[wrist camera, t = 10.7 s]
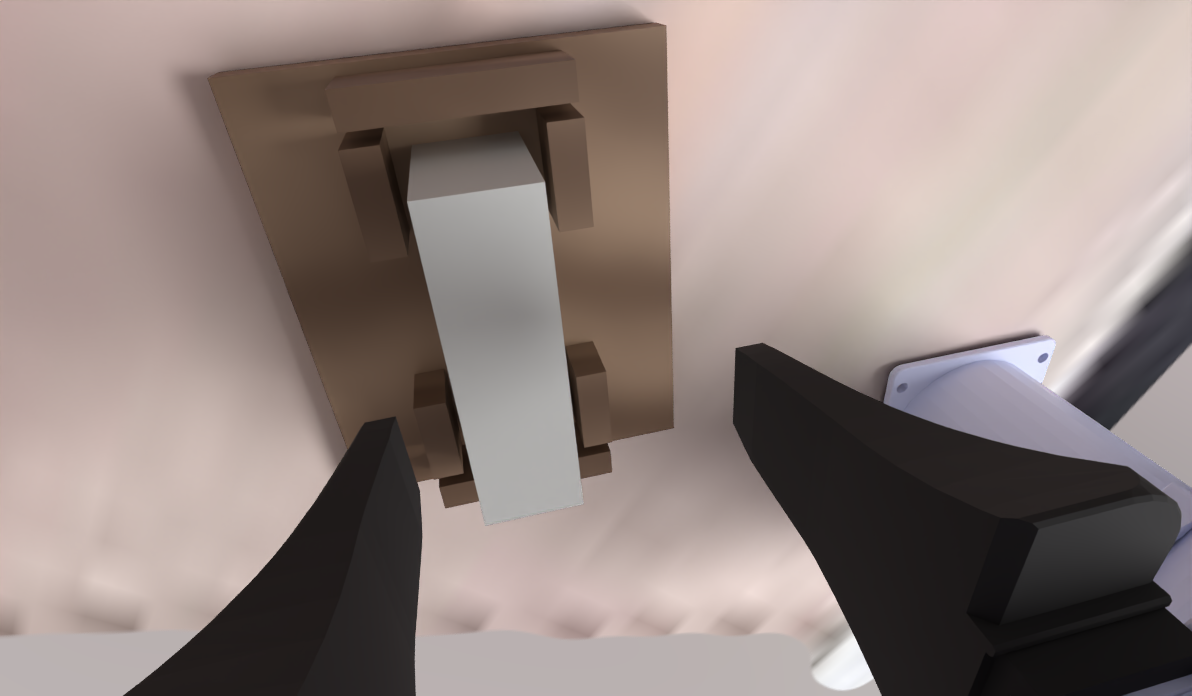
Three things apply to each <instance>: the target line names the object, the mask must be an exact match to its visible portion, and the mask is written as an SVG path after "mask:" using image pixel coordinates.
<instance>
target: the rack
mask: <svg viewBox="0 0 1192 696" xmlns="http://www.w3.org/2000/svg"><path fill="white" fill-rule="evenodd" d="M208 81H209V84H210V86H211V89H212V92H213V94H214V97H215V99H216V102H217V105H218V107H219V110H220V113H221V115H222V118H223V121H224V123H225V126H226V129H227V131H228V134H229V137H230V139H231V142H232V144H233V147H234V150H235V152H236V155H237V158H238V160H239V163H240V166H241V168H242V171H243V174H244V176H245V179H246V182H247V184H248V187H249V189H250V192H251V195H252V197H253V200H254V203H255V205H256V208H257V211H258V213H259V216H260V219H261V221H262V224H263V227H264V229H265V232H266V234H267V237H268V240H269V242H270V245H271V248H272V250H273V253H274V256H275V258H276V261H277V264H278V266H279V269H280V272H281V274H282V277H283V279H284V282H285V285H286V287H287V290H288V293H289V295H290V298H291V301H292V303H293V306H294V309H295V311H296V314H297V317H298V319H299V322H300V324H301V327H302V330H303V332H304V335H305V338H306V340H307V343H308V346H309V348H310V351H311V354H312V356H313V359H314V362H315V364H316V367H317V369H318V372H319V375H320V377H321V380H322V383H323V385H324V388H325V391H326V393H327V396H328V399H329V401H330V404H331V407H332V409H333V412H334V414H335V417H336V420H337V422H338V425H339V428H340V430H341V433H342V436H343V438H344V441H345V444H346V446H347V449H348V448H349V447H350V445H351V443H352V442H353V440H354V438H355V436H356V435H357V433H358V431H359V430H360V428H361V427H362V425H363V424H364V423H365V422H370V421H375V420H380V419H385V418H390V417H395V416H396V419H397V422H398V425H399V428H400V431H401V434H402V437H403V440H404V444H405V447H406V450H407V453H408V456H409V459H410V462H411V465H412V468H413V471H414V474H415V478H416V481H417V482H420V481H425V480H429V479H439V488H440V492H441V495H442V498H443V502H444V505H445V508H449V507H454V506H459V505H463V504H468V503H472V502H477V501H479V498H478V494H477V489H476V485H475V481H474V477H473V473H472V469H471V465H470V460H469V456H468V452H467V448H466V444H465V440H464V436H463V431H462V427H461V423H460V419H459V415H458V411H457V407H456V402H455V398H454V394H453V390H452V386H451V382H450V378H449V373H448V369H447V365H446V361H445V357H444V353H443V349H442V344H441V340H440V336H439V332H438V328H437V324H436V320H435V315H434V311H433V307H432V303H431V299H430V295H429V291H428V287H427V282H426V278H425V274H424V270H423V266H422V262H421V258H420V253H419V249H418V245H417V241H416V237H415V233H414V229H413V224H412V220H411V216H410V212H409V208H408V204H407V196H408V184H409V172H410V160H411V148H412V145H416V144H423V143H431V142H439V141H446V140H454V139H461V138H469V137H477V136H484V135H492V134H499V133H507V132H515V131H518V132H519V134H520V135H521V137H522V139H523V141H524V143H525V145H526V147H527V149H528V151H529V153H530V154H531V156H532V158H533V160H534V162H535V164H536V166H537V168H538V170H539V172H540V174H541V175H542V177H543V179H544V181H545V187H546V195H547V203H548V212H549V220H550V228H551V237H552V245H553V253H554V261H555V270H556V278H557V286H558V295H559V303H560V311H561V320H562V328H563V336H564V345H565V353H566V361H567V370H568V378H569V386H570V395H571V403H572V411H573V420H574V428H575V436H576V444H577V453H578V461H579V469H580V478H581V479H583V478H587V477H592V476H596V475H601V474H606V473H610V472H612V465H611V454H610V449H609V446H608V444H607V443H610V442H612V441H614V440H619V439H624V438H629V437H633V436H638V435H643V434H648V433H652V432H657V431H662V430H667V429H671V428H674V424H673V368H672V313H671V258H670V203H669V147H668V92H667V37H666V25H662V24H659V23H648V24H639V25H630V26H622V27H613V28H604V29H595V30H586V31H578V32H569V33H560V34H551V35H543V36H534V37H525V38H516V39H507V40H499V41H490V42H481V43H472V44H464V45H455V46H446V47H437V48H428V49H420V50H411V51H402V52H393V53H384V54H376V55H367V56H358V57H349V58H341V59H332V60H323V61H314V62H305V63H297V64H288V65H279V66H270V67H262V68H253V69H244V70H235V71H226V72H218V73H216V74H215V75H213V76H211V77H209V78H208Z"/></svg>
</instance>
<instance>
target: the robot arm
mask: <svg viewBox="0 0 1192 696" xmlns="http://www.w3.org/2000/svg"><path fill="white" fill-rule="evenodd" d="M1055 344H1056V342H1055V340H1054V339H1052V338H1051V337H1049V336H1047V335H1042V336H1037V337H1032V338H1028V339H1023V340H1018V341H1013V342H1008V343H1003V344H998V345H994V346H989V347H984V348H979V349H974V350H969V351H965V352H960V353H955V354H950V355H945V356H940V357H936V358H931V359H926V360H921V361H916V362H911V363H907V364H902V365H899V366H896V367H895V368H894V369H893V370H892V371H891V372H890V375H889V378H888V383H887V388H886V393H885V398H884V403H882V402H880V401H878V400H875V399H873V398H871V397H869V396H866V395H864V394H862V393H860V392H858V391H856V390H854V389H851V388H849V387H847V386H845V385H843V384H841V383H839V382H837V381H835V380H833V379H831V378H829V377H827V376H826V375H824V374H822V373H820V372H818V371H816V370H814V369H812V368H810V367H808V366H807V365H805V364H803V363H801V362H799V361H797V360H795V359H793V358H792V357H790V356H788V355H786V354H784V353H782V352H780V351H778V350H776V349H774V348H772V347H770V346H768V345H766V344H764V343H759V344H754V345H749V346H744V347H739V348H736V353H735V381H734V408H733V424H734V426H735V428H736V430H737V432H738V435H739V437H740V439H741V441H742V443H743V445H744V447H745V449H746V451H747V453H748V455H749V457H750V459H751V461H752V463H753V464H754V466H755V468H756V469H757V471H758V472H759V474H760V475H761V477H762V478H763V480H764V481H765V483H766V484H767V486H768V487H769V489H770V490H771V492H772V493H773V495H774V496H775V498H776V499H777V501H778V502H779V504H780V505H781V507H782V508H783V510H784V511H785V513H786V514H787V516H788V517H789V519H790V520H791V522H792V523H793V525H794V526H795V528H796V529H797V531H798V532H799V534H800V535H801V537H802V538H803V540H804V541H805V543H806V545H807V546H808V548H809V549H810V551H811V553H812V554H813V556H814V558H815V560H816V561H817V563H818V565H819V567H820V569H821V571H822V573H823V575H824V577H825V579H826V580H827V582H828V584H829V586H830V588H831V590H832V592H833V594H834V596H835V598H836V600H837V602H838V604H839V606H840V608H841V610H842V612H843V614H844V616H845V618H846V620H847V622H848V624H849V626H850V628H851V630H852V632H853V634H854V636H855V638H856V640H857V642H858V645H859V647H860V649H861V651H862V653H863V655H864V658H865V660H866V662H867V664H868V666H869V668H870V671H871V673H872V675H873V677H874V679H875V681H876V684H877V686H878V688H879V690H880V693H881V694H882V696H1192V488H1191V487H1190V486H1188V485H1187V484H1185V483H1184V482H1183V481H1181V480H1180V479H1178V478H1177V477H1175V476H1174V475H1172V474H1171V473H1169V472H1168V471H1167V470H1165V469H1164V468H1162V467H1161V466H1159V465H1158V464H1157V463H1155V462H1154V461H1152V460H1151V459H1149V458H1148V457H1146V456H1145V455H1144V454H1142V453H1141V452H1139V451H1138V450H1136V449H1135V448H1133V447H1132V446H1131V445H1129V444H1128V443H1126V442H1125V441H1123V440H1122V439H1120V438H1119V437H1118V436H1116V435H1115V434H1113V433H1112V432H1110V431H1109V430H1107V429H1106V428H1105V427H1103V426H1102V425H1100V424H1099V423H1097V422H1096V421H1094V420H1093V419H1092V418H1090V417H1089V416H1087V415H1086V414H1084V413H1083V412H1081V411H1080V410H1079V409H1077V408H1076V407H1074V406H1073V405H1071V404H1070V403H1069V402H1067V401H1066V400H1064V399H1063V398H1061V397H1060V396H1058V395H1057V394H1056V393H1054V392H1053V391H1051V390H1050V389H1048V388H1047V387H1045V386H1044V385H1043V384H1042V382H1043V379H1044V376H1045V373H1046V371H1047V368H1048V365H1049V362H1050V359H1051V357H1052V354H1053V351H1054V348H1055ZM900 384H901V385H900ZM899 385H900V386H899ZM898 386H899V387H898ZM421 550H422V517H421V502H420V490H419V487H418V484H417V481H416V478H415V474H414V471H413V468H412V465H411V462H410V459H409V456H408V453H407V450H406V447H405V444H404V440H403V437H402V434H401V431H400V428H399V425H398V422H397V419H396V416H395V417H390V418H385V419H380V420H375V421H370V422H365V423H364V424H363V425H362V427H361V428H360V430H359V431H358V433H357V435H356V436H355V438H354V440H353V442H352V443H351V445H350V447H349V448H348V450H347V452H346V453H345V455H344V457H343V458H342V460H341V462H340V463H339V465H338V467H337V468H336V470H335V472H334V473H333V475H332V476H331V478H330V479H329V481H328V482H327V484H326V485H325V487H324V488H323V490H322V492H321V493H320V495H319V496H318V498H317V499H316V501H315V502H314V504H313V505H312V506H311V508H310V509H309V511H308V512H307V513H306V515H305V516H304V517H303V519H302V520H301V522H300V523H299V524H298V526H297V527H296V528H295V530H294V531H293V533H292V534H291V535H290V537H289V538H288V539H287V540H286V542H285V543H284V544H283V545H282V547H281V548H280V549H279V550H278V552H277V553H276V554H275V555H274V556H273V558H272V559H271V560H270V561H269V562H268V563H267V564H266V566H265V567H264V568H263V569H262V570H261V571H260V572H259V574H258V575H257V576H256V577H255V578H254V579H253V580H252V581H251V582H250V583H249V584H248V585H247V586H246V587H245V588H244V589H243V590H242V591H241V592H240V593H239V594H238V595H237V596H236V597H235V598H234V599H233V600H232V601H231V602H230V603H229V604H228V605H227V606H226V607H225V608H224V609H223V610H222V611H221V612H220V613H219V614H218V615H217V616H216V617H215V618H214V619H213V620H212V621H211V622H210V623H209V624H208V625H207V626H206V627H205V628H204V629H203V630H201V631H200V632H199V633H198V634H197V635H196V636H195V637H194V638H192V639H191V640H190V641H189V642H188V643H187V644H186V645H185V646H184V647H182V648H181V649H180V650H179V651H178V652H177V653H175V654H174V655H173V656H172V657H171V658H169V659H168V660H167V661H166V662H165V663H164V664H162V665H161V666H160V667H159V668H158V669H157V670H155V671H154V672H153V673H151V674H150V675H149V676H148V677H147V678H145V679H144V680H143V681H142V682H140V683H139V684H138V685H136V686H135V687H134V688H132V689H131V690H130V691H128V692H127V693H126V694H125V695H123V696H416V692H415V660H414V659H415V632H416V619H417V605H418V592H419V578H420V564H421Z"/></svg>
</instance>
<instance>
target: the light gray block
mask: <svg viewBox="0 0 1192 696" xmlns="http://www.w3.org/2000/svg"><path fill="white" fill-rule="evenodd" d="M407 204H408V208H409V212H410V216H411V220H412V224H413V229H414V233H415V237H416V241H417V245H418V249H419V253H420V258H421V262H422V266H423V270H424V274H425V278H426V282H427V287H428V291H429V295H430V299H431V303H432V307H433V311H434V315H435V320H436V324H437V328H438V332H439V336H440V340H441V344H442V349H443V353H444V357H445V361H446V365H447V369H448V373H449V378H450V382H451V386H452V390H453V394H454V398H455V402H456V407H457V411H458V415H459V419H460V423H461V427H462V431H463V436H464V440H465V444H466V448H467V452H468V456H469V460H470V465H471V469H472V473H473V477H474V481H475V485H476V489H477V494H478V498H479V502H480V506H481V510H482V514H483V518H484V523H485V526H487V525H492V524H496V523H501V522H505V521H510V520H514V519H519V518H523V517H528V516H532V515H537V514H542V513H546V512H551V511H555V510H560V509H564V508H569V507H573V506H578V505H582V504H584V503H583V494H582V486H581V478H580V469H579V461H578V453H577V444H576V436H575V428H574V420H573V411H572V403H571V395H570V386H569V378H568V370H567V361H566V353H565V345H564V336H563V328H562V320H561V311H560V303H559V295H558V286H557V278H556V270H555V261H554V253H553V245H552V237H551V228H550V220H549V212H548V203H547V195H546V187H545V181H544V179H543V177H542V175H541V174H540V172H539V170H538V168H537V166H536V164H535V162H534V160H533V158H532V156H531V154H530V153H529V151H528V149H527V147H526V145H525V143H524V141H523V139H522V137H521V135H520V134H519V132H518V131H515V132H507V133H499V134H492V135H484V136H477V137H469V138H461V139H454V140H446V141H439V142H431V143H423V144H416V145H412V148H411V160H410V172H409V184H408V196H407Z"/></svg>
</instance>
